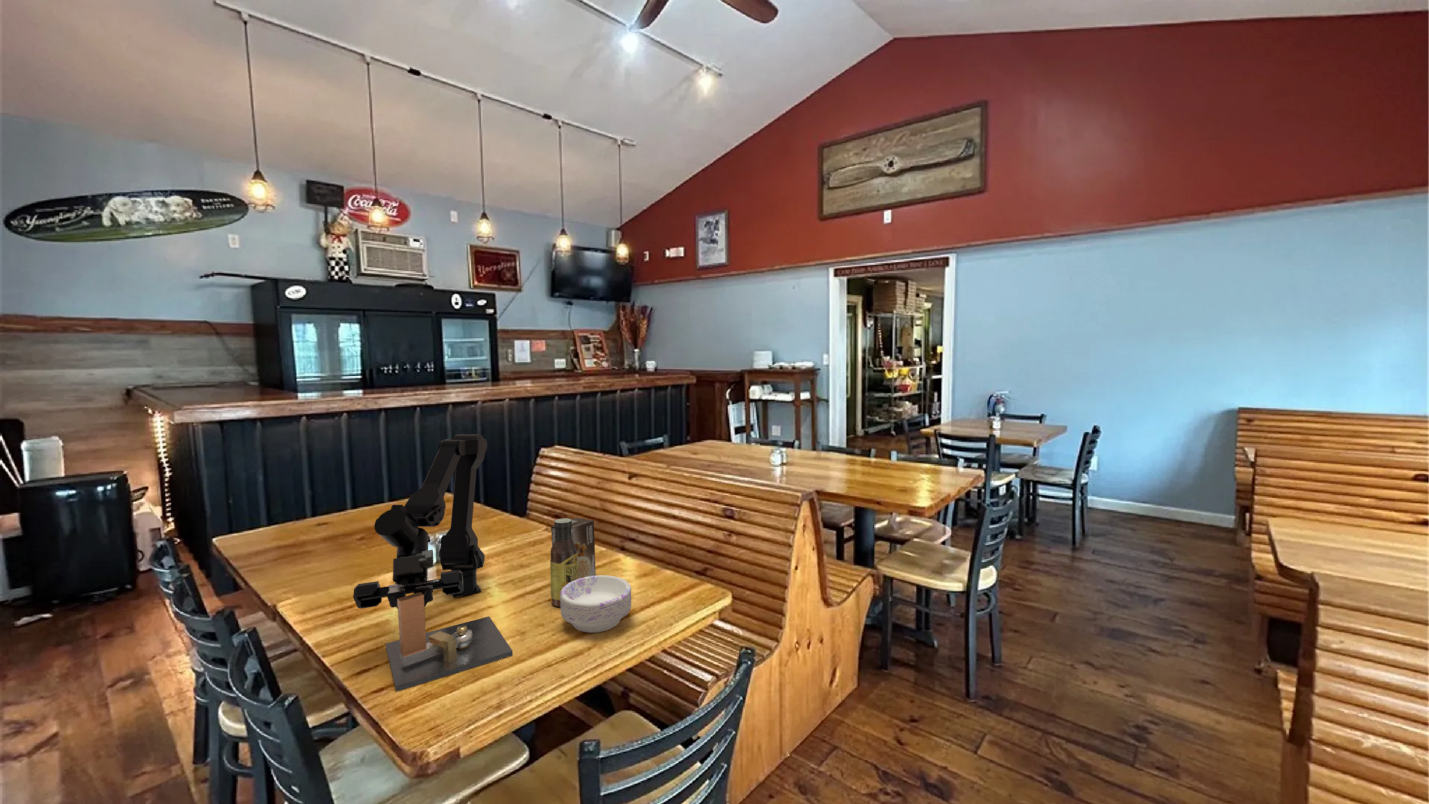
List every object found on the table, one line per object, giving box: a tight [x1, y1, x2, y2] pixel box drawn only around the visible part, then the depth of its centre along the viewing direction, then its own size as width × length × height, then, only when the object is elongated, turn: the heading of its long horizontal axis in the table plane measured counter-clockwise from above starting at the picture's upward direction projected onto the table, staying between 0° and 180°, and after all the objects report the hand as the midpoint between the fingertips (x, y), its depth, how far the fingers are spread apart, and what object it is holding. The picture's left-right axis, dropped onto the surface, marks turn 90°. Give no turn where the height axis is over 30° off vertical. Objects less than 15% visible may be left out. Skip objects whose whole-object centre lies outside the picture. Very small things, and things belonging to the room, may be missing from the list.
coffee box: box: [550, 517, 597, 579], centre depth 144 cm, size 9×6×16 cm
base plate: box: [385, 616, 514, 692], centre depth 112 cm, size 18×20×1 cm
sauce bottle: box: [549, 517, 578, 608], centre depth 133 cm, size 7×6×20 cm
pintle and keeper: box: [428, 625, 470, 663], centre depth 110 cm, size 7×8×5 cm
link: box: [397, 592, 472, 667], centre depth 109 cm, size 13×4×12 cm, turn 136°
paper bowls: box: [560, 574, 632, 634], centre depth 124 cm, size 15×15×8 cm
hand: (409, 631), depth 107 cm, fingers closed
